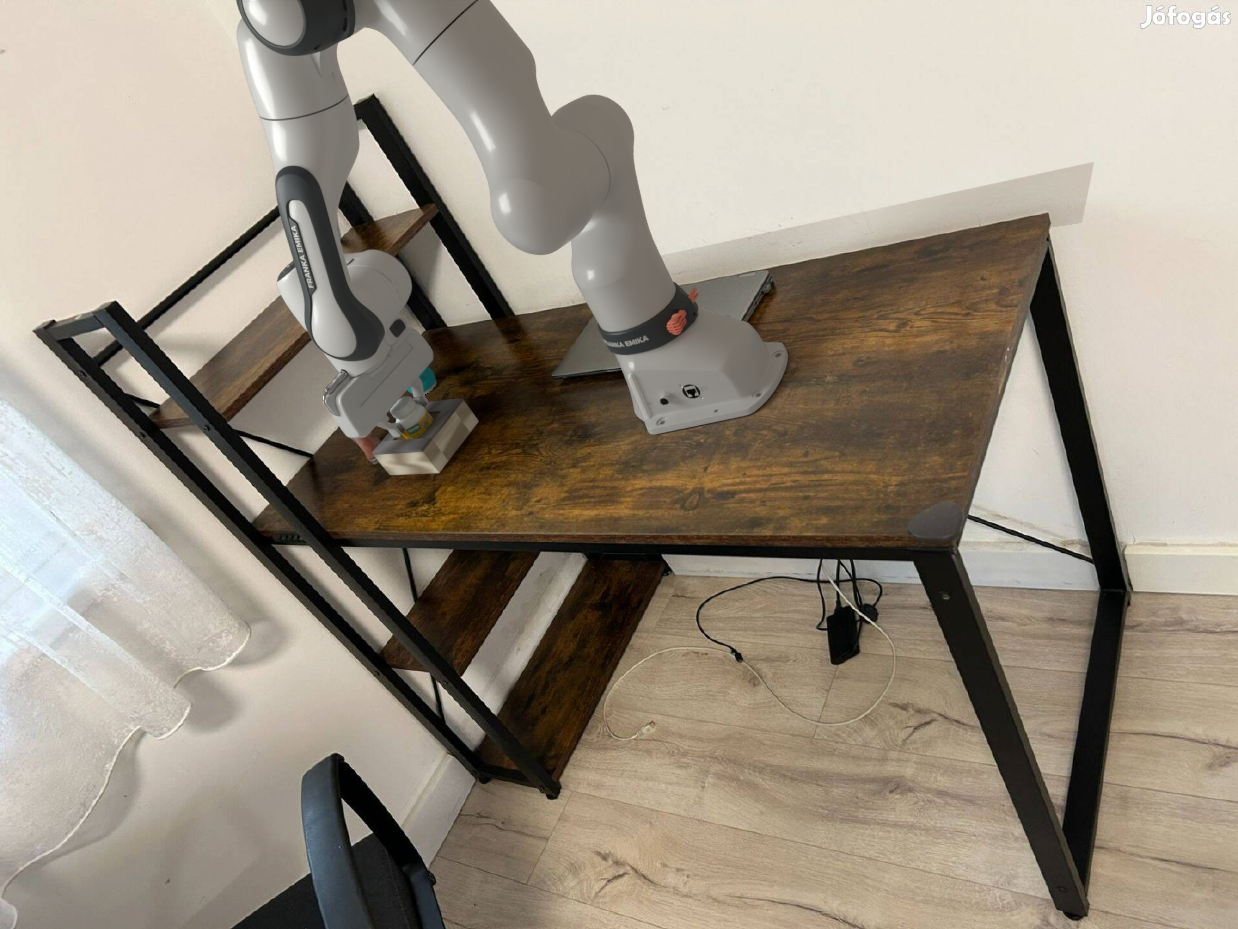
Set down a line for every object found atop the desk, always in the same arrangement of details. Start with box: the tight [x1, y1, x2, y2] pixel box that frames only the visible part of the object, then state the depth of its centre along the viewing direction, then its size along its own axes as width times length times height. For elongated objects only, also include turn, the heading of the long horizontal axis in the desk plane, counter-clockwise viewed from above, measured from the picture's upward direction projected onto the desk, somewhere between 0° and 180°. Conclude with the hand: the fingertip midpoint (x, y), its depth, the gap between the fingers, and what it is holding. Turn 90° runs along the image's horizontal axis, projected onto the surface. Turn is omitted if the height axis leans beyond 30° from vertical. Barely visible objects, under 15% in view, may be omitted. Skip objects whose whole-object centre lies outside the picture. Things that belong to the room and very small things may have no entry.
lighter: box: [351, 430, 382, 465], centre depth 149 cm, size 8×3×10 cm, turn 23°
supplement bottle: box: [389, 395, 434, 439], centre depth 140 cm, size 5×5×10 cm
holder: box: [372, 397, 479, 476], centre depth 141 cm, size 12×12×5 cm
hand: (411, 419), depth 139 cm, fingers closed on supplement bottle, 5 cm apart
